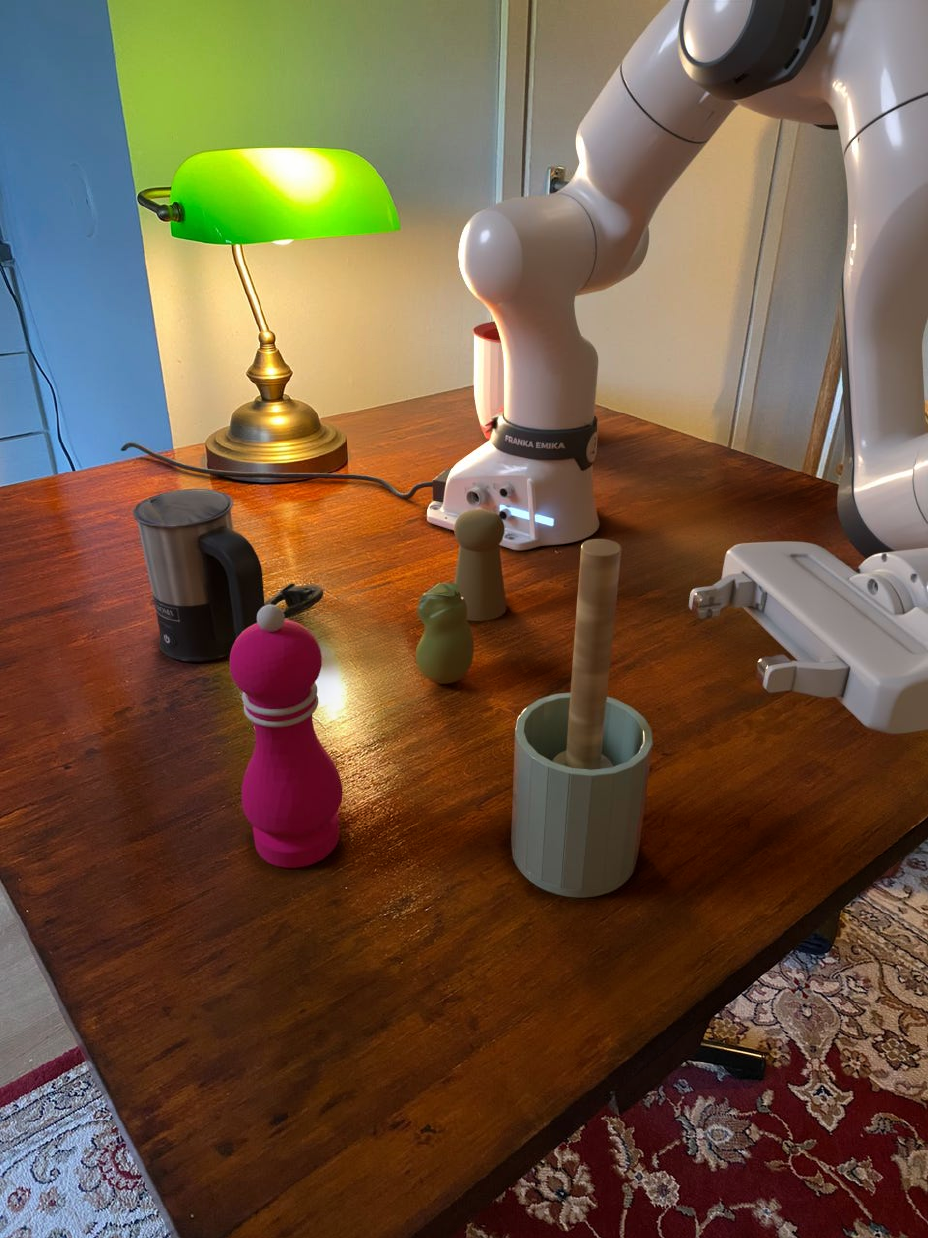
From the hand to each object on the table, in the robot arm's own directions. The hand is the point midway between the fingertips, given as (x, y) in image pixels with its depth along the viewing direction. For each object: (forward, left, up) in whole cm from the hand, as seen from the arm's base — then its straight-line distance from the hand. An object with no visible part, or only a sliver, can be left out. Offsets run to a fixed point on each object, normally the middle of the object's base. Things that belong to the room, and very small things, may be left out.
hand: (725, 637), depth 60 cm
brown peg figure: (-29, +24, -17) cm, 42 cm away
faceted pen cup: (-7, -6, -17) cm, 20 cm away
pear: (-26, +10, -17) cm, 33 cm away
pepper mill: (-26, -14, -17) cm, 35 cm away
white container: (-47, +79, -17) cm, 94 cm away
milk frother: (-49, +9, -17) cm, 53 cm away
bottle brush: (-7, -6, -16) cm, 19 cm away
